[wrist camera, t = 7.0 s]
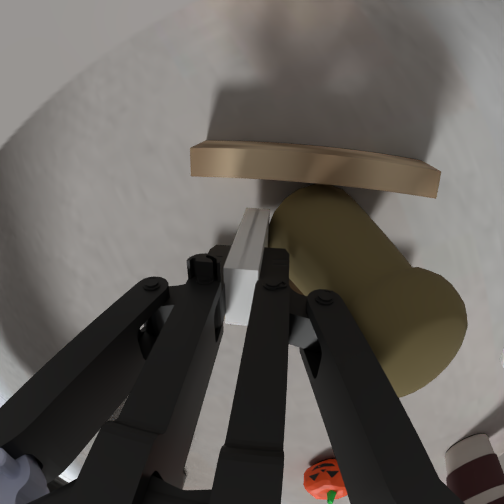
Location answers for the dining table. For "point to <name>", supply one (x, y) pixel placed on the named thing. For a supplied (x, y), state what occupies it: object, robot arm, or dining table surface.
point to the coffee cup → (475, 471)
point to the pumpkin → (325, 481)
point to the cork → (371, 283)
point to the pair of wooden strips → (314, 167)
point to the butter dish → (502, 358)
